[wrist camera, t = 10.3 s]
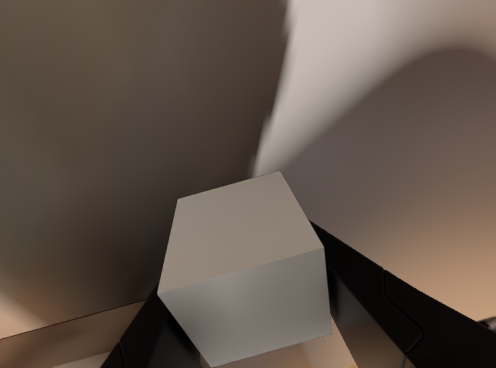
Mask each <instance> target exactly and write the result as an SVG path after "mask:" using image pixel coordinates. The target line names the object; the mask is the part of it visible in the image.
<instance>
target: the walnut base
mask: <svg viewBox="0 0 496 368" xmlns="http://www.w3.org/2000/svg"><path fill="white" fill-rule="evenodd" d="M145 301H146V300H145ZM145 301H141V302H138V303H134V304H130V305H127V306H123V307H119V308H116V309H112V310H108V311H105V312H101V313H97V314H93V315H90V316H86V317H82V318H79V319H75V320H71V321H68V322H64V323H60V324H57V325H53V326H49V327H46V328H42V329H38V330H35V331H31V332H27V333H23V334H20V335H16V336H12V337H9V338H5V339H1V340H0V368H100V367H101V365H102V364H103V362H104V361H105V359H106V358H107V357H108V355H109V354H110V352H111V351H112V349H113V348H114V346H115V345H116V343H118V342H119V339H120V338H121V336H122V335H123V333H124V332H125V330H126V329H127V327H128V326H129V325H130V323H131V322H132V320H133V319H134V317H135V316H136V314H137V313H138V311H139V310H140V308H141V307H142V305H143V304H144V303H145Z"/></svg>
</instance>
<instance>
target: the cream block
mask: <svg viewBox="0 0 496 368" xmlns="http://www.w3.org/2000/svg"><path fill="white" fill-rule="evenodd" d="M157 294H158V296H159V297H160V299H161V300H162V301H163V303H164V304H165V305H166V307H167V308H168V309H169V311H170V312H171V314H172V315H173V316H174V318H175V319H176V320H177V322H178V323H179V324H180V326H181V327H182V329H183V330H184V331H185V333H186V334H187V335H188V337H189V338H190V340H191V341H192V342H193V344H194V345H195V346H196V348H197V349H198V350H199V352H200V353H201V355H202V356H203V357H204V359H205V360H206V361H207V363H208V364H209V365H210V367H211V368H212V367H215V366H219V365H222V364H226V363H229V362H233V361H237V360H240V359H244V358H247V357H251V356H255V355H258V354H262V353H265V352H269V351H272V350H276V349H280V348H283V347H287V346H290V345H294V344H298V343H301V342H305V341H308V340H312V339H315V338H319V337H323V336H326V335H329V334H332V328H331V317H330V307H329V296H328V285H327V275H326V264H325V253H324V247H323V245H322V243H321V241H320V240H319V238H318V236H317V234H316V233H315V231H314V229H313V227H312V226H311V224H310V222H309V220H308V219H307V217H306V215H305V214H304V212H303V210H302V208H301V207H300V205H299V203H298V201H297V200H296V198H295V196H294V194H293V193H292V191H291V189H290V187H289V186H288V184H287V182H286V181H285V179H284V177H283V175H282V173H281V172H280V171H276V172H273V173H269V174H266V175H262V176H259V177H255V178H251V179H248V180H244V181H241V182H237V183H233V184H230V185H226V186H223V187H219V188H216V189H212V190H208V191H205V192H201V193H198V194H194V195H190V196H187V197H183V198H180V199H178V201H177V206H176V210H175V215H174V219H173V224H172V228H171V233H170V237H169V242H168V246H167V251H166V256H165V260H164V265H163V269H162V274H161V278H160V283H159V287H158V292H157Z"/></svg>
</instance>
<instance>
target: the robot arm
mask: <svg viewBox="0 0 496 368" xmlns="http://www.w3.org/2000/svg"><path fill="white" fill-rule="evenodd" d="M309 222H310V224H311V226H312V227H313V229H314V231H315V233H316V234H317V236H318V238H319V240H320V241H321V243H322V245H323V247H324V253H325V264H326V275H327V285H328V296H329V307H330V314H331V316H332V318H333V320H334V322H335V324H336V326H337V328H338V329H339V331H340V333H341V335H342V337H343V339H344V341H345V343H346V345H347V347H348V349H349V351H350V353H351V355H352V357H353V358H354V360H355V362H356V364H357V366H358V368H496V332H495V331H493V330H491V329H492V328H491V327H490V326H489V325H488V324H487V323H486V322H480V323H478V322H476V321H474V320H472V319H471V318H469V317H467V316H465V315H463V314H461V313H459V312H458V311H456V310H454V309H452V308H450V307H448V306H446V305H445V304H443V303H441V302H439V301H437V300H435V299H434V298H432V297H430V296H428V295H426V294H425V293H423V292H421V291H419V290H417V289H416V288H414V287H412V286H411V285H409V284H408V283H406V282H404V281H403V280H401V279H399V278H398V277H396V276H395V275H393V274H392V273H390V272H389V271H387V270H384V269H383V268H382V267H381V266H379V265H377V264H376V263H374V262H373V261H371V260H370V259H368V258H367V257H365V256H364V255H362V254H361V253H359V252H357V251H356V250H354V249H353V248H351V247H350V246H348V245H347V244H345V243H343V242H342V241H340V240H339V239H337V238H336V237H334V236H333V235H331V234H330V233H328V232H327V231H325V230H324V229H322V228H320V227H319V226H317V225H316V224H314V223H313V222H311V221H310V220H309ZM159 283H160V280H159V282H158V283H157V285H156V286H155V288H154V289H153V291H152V292H151V294H150V295H149V297H148V298H147V300H146V301H145V303H144V304H143V305H142V307H141V308H140V310H139V311H138V313H137V314H136V316H135V317H134V319H133V320H132V322H131V323H130V325H129V326H128V327H127V329H126V330H125V332H124V333H123V335H122V336H121V338H120V339H119V342H118V343H116V345H115V346H114V348H113V349H112V351H111V352H110V354H109V355H108V357H107V358H106V359H105V361H104V362H103V364H102V365H101V367H100V368H200V352H199V350H198V349H197V348H196V346H195V345H194V344H193V342H192V341H191V340H190V338H189V337H188V335H187V334H186V333H185V331H184V330H183V329H182V327H181V326H180V324H179V323H178V322H177V320H176V319H175V318H174V316H173V315H172V314H171V312H170V311H169V309H168V308H167V307H166V305H165V304H164V303H163V301H162V300H161V299H160V297H159V296H158V294H157V292H158V287H159Z"/></svg>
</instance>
